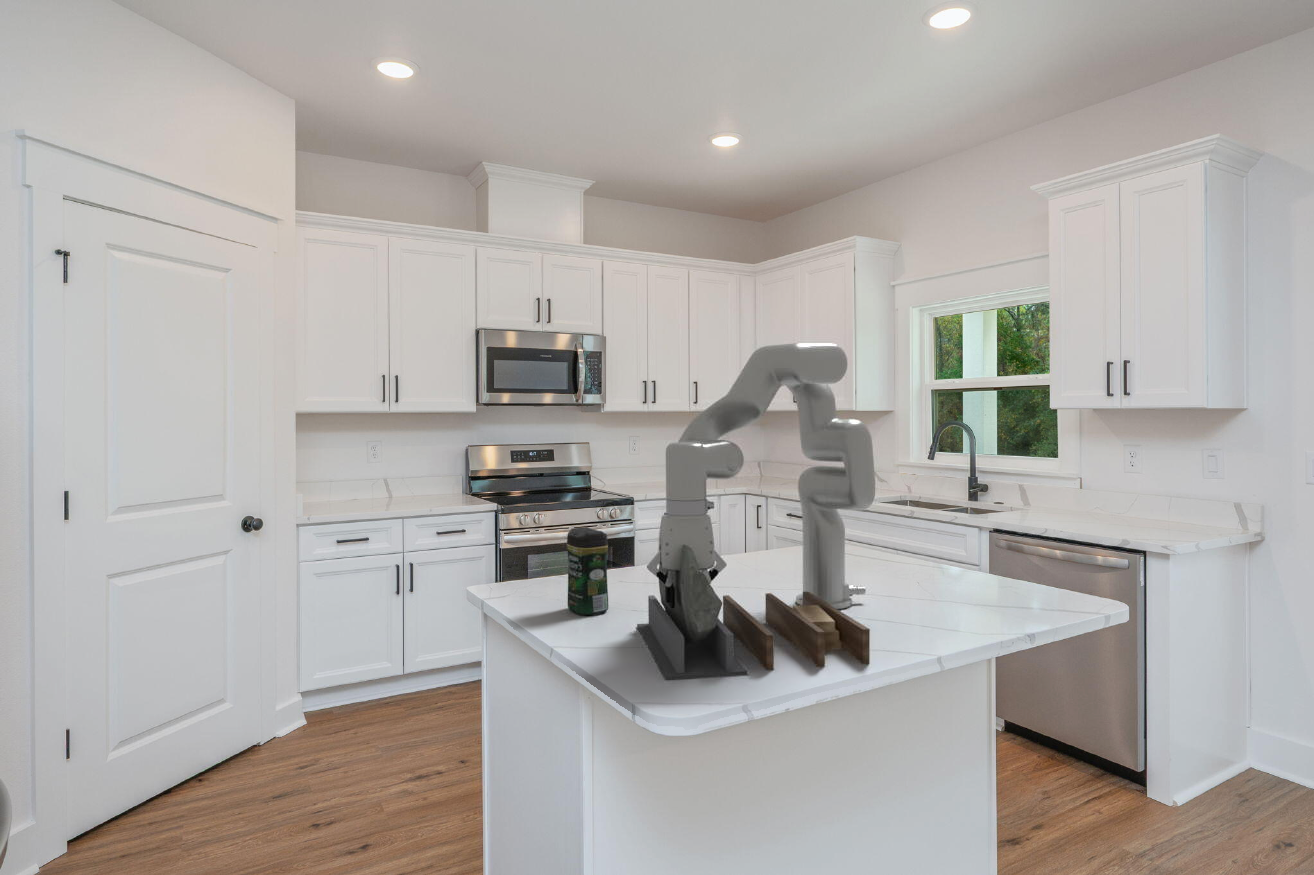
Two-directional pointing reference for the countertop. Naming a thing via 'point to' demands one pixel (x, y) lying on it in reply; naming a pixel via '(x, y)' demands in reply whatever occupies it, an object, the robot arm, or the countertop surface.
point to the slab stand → (688, 648)
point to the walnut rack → (794, 630)
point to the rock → (692, 600)
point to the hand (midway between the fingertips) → (687, 604)
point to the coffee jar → (587, 571)
